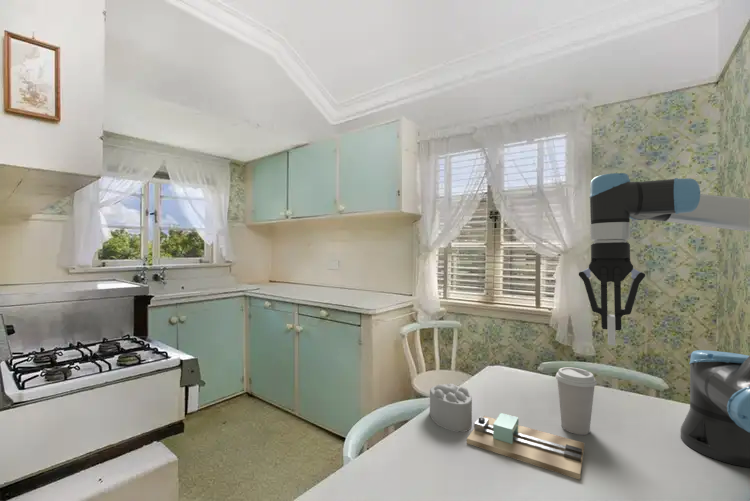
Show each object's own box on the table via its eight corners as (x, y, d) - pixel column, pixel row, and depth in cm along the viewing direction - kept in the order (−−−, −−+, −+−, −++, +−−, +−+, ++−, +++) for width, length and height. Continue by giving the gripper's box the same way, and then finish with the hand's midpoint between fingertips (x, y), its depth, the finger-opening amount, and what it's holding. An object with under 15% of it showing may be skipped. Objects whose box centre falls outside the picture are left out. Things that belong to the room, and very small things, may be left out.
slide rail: (581, 452, 80) (581, 441, 80) (580, 462, 76) (580, 451, 76) (479, 423, 93) (479, 414, 93) (474, 430, 89) (474, 421, 89)
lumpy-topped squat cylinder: (458, 407, 105) (458, 378, 105) (481, 429, 92) (481, 396, 92) (425, 411, 102) (425, 381, 102) (444, 434, 90) (444, 400, 90)
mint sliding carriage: (518, 431, 89) (518, 417, 89) (511, 444, 83) (511, 429, 83) (500, 426, 91) (500, 412, 91) (493, 438, 85) (493, 424, 85)
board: (584, 447, 83) (584, 442, 83) (580, 479, 72) (580, 474, 72) (483, 420, 97) (483, 415, 97) (466, 443, 85) (466, 438, 85)
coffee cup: (603, 440, 87) (603, 380, 87) (561, 435, 89) (562, 377, 89) (587, 421, 96) (588, 367, 96) (550, 418, 98) (550, 365, 98)
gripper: (643, 241, 80) (645, 343, 80) (578, 242, 87) (579, 336, 87) (647, 240, 74) (648, 352, 74) (576, 242, 81) (577, 343, 81)
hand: (611, 343), depth 80 cm, fingers closed
